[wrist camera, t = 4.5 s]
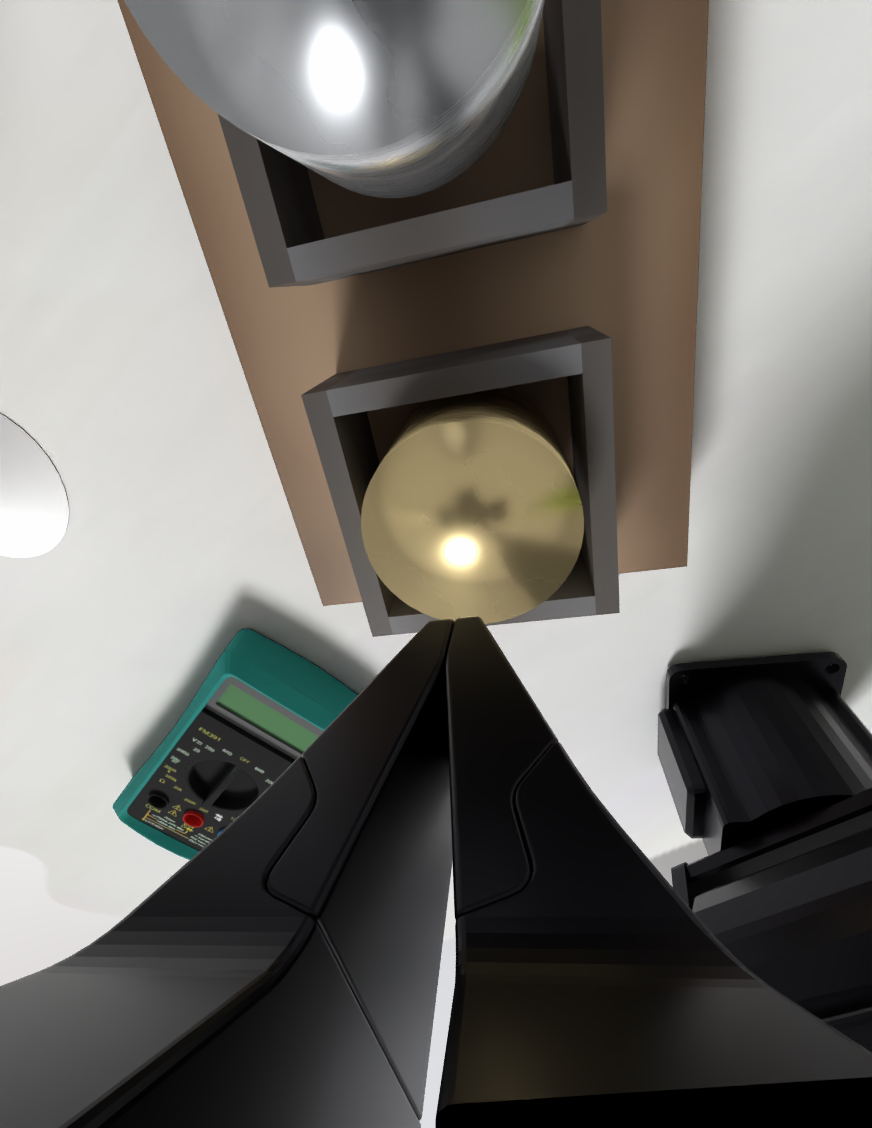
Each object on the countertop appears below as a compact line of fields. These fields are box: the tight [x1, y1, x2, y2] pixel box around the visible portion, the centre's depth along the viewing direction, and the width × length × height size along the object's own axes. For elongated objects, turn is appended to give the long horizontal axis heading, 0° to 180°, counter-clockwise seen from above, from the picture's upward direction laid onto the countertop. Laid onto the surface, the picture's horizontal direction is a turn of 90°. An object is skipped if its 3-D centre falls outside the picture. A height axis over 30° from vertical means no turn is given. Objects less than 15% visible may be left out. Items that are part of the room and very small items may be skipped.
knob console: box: [118, 0, 709, 637], centre depth 13 cm, size 12×17×6 cm
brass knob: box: [361, 388, 584, 624], centre depth 14 cm, size 5×5×4 cm
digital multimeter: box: [113, 629, 358, 860], centre depth 26 cm, size 7×15×3 cm, turn 143°
